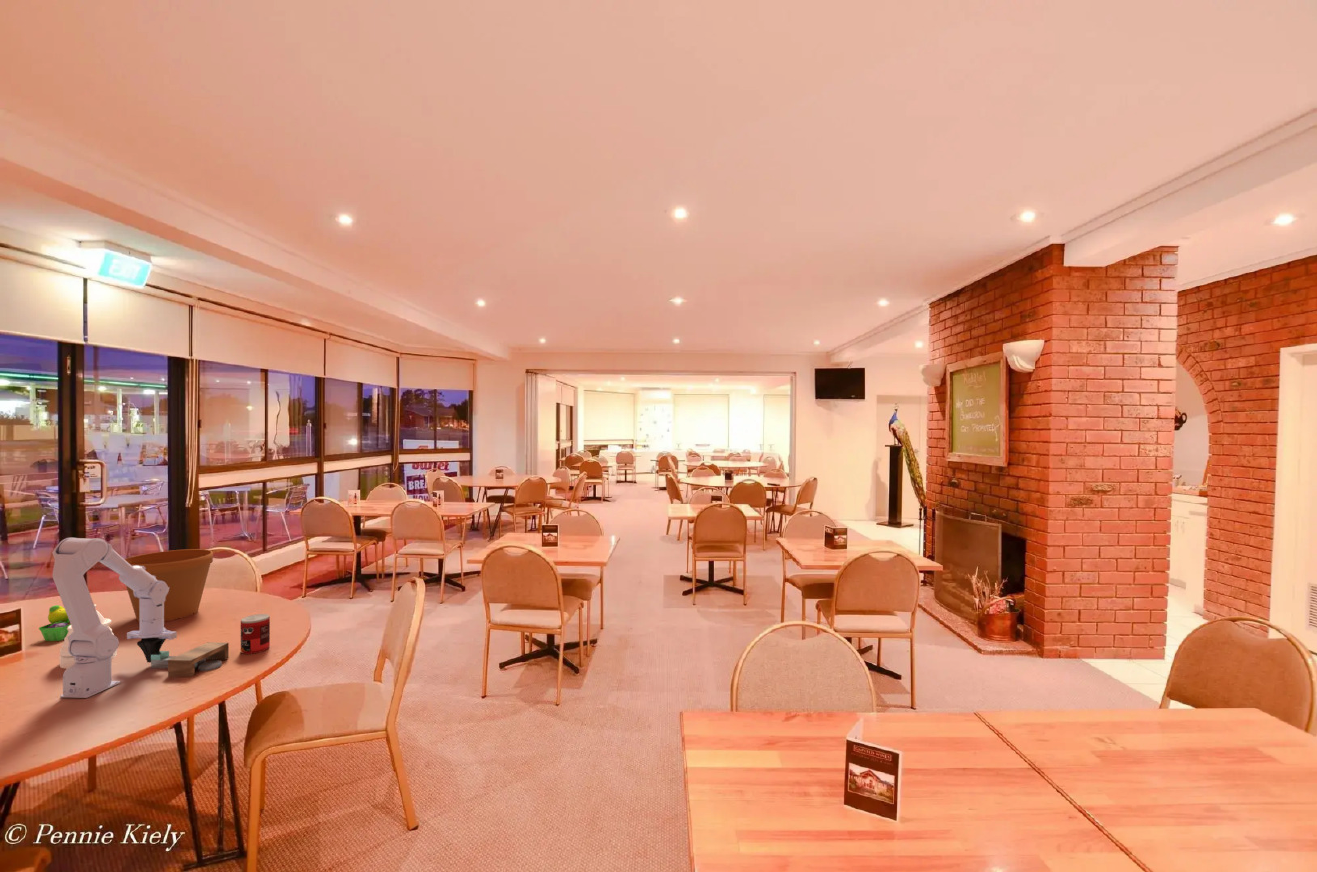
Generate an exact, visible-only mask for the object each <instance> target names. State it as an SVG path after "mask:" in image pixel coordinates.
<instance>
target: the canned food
mask: <svg viewBox="0 0 1317 872" xmlns="http://www.w3.org/2000/svg"><path fill="white" fill-rule="evenodd" d="M270 621H271V618H270V614H267V613H259V614H258V613H257V614H253V615H252V614H251V615H247V616H245V617H242V618H241V619H240V651H241V653H242V654H244V655H250V654H251V655H252V654H258V653H262V652H264V651H266V650H268V649H269V648H270V646H271V645H270V643H271V641H270V638H271V636H270V635H271V633H270V632H271V631H270V625H271V624H270V623H271V622H270Z"/></svg>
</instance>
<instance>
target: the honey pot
mask: <svg viewBox="0 0 1317 872" xmlns="http://www.w3.org/2000/svg"><path fill="white" fill-rule="evenodd" d="M94 606H95V609H96V607H97V604H94ZM96 611H97V614H98V617H99V619H100V622H101V624H103V625H104V626H106V627H107V628H109V629H110V630H111V633H112V634H113V635H114V636H115V634H114V632H113V629H112V628H111V627H110V624H111V623H112V619H110V618H104V616H103V615H102V614H101V612H99V611H98V610H97V609H96ZM67 630H68V634H67V636H66V637H65V638H64V639H63V640H64V641H63V642H62V646H61V647H60V648H59V667H60V668H61V669H65V670H66V669H68V668H69V667H71V666H73V665H74V664H75V662H76V661H75V660H74V656H72V655H70V654H69V652H68V646H69V640H68V636H69V635H70V634H71V633H72V632H73V628H72V626H71V625H70V626H69V627H68V628H67ZM117 654H118V649H117V650H116V651H115V652H114V653H113V656H111V660H112V659H114V658H115V657H116V656H117Z"/></svg>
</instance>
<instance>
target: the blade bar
mask: <svg viewBox="0 0 1317 872" xmlns="http://www.w3.org/2000/svg"><path fill="white" fill-rule="evenodd" d="M176 656H177V655H170V650H160V651H159V652H156V653H154V654H151V663H150V668H151V669H168V660H169V659H171V658H174V657H176ZM206 660H207V659H205V658H204V659H202V660H200V661H198V662H196V663H194V670H199V665H200V664H202V663H205V662H207V661H206Z"/></svg>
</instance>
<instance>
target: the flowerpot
mask: <svg viewBox="0 0 1317 872" xmlns="http://www.w3.org/2000/svg"><path fill="white" fill-rule="evenodd" d="M213 558H214V552H213V551H212V550H210V549H204V548H203V549H202V548H195V549H194V548H191V549H189V548H188V549H176V550H163V551H157V552H150V553H143V554H139V555H134V556H129V557H126V558H124V559H125V560H126V561H127V562H128V563H129V564H130V565H131V566H136V565H138V566H144V567H145V568H146V569H145V571H147V572H148V573H149V574H151V575H154V576H155V577H156V579H157V580H158V581H164V582H165V583H166V584H167V586H168V587H169V591H168V593H167V595H166V597H165V602H164V622H169V620H170V621H175V620H179V619H178V618H180V619H182V618H181V617H184V618H186V617H190V616H192V615H194V614H197V613H198V611H199V608H200V605H201V601H202V597H203V593H204V589H205V585H206V582H207V581H206V580H207V577H208V575H209V574H208V573H209V571H210V566H211V564H212V563H213V561H214V559H213ZM125 587H126V590H127V593H128V596H129V599H130V602H131V603H130V604H131V606H132V608H133V609H132V610H133V612H134V616H135V618H136V621H137V622H138V621H139V598H137V597H135V596H134V594H133V590H132V589H131V588H129V587H128V586H126V585H125ZM193 613H194V614H193ZM189 615H190V616H189ZM174 619H175V620H174Z"/></svg>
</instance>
